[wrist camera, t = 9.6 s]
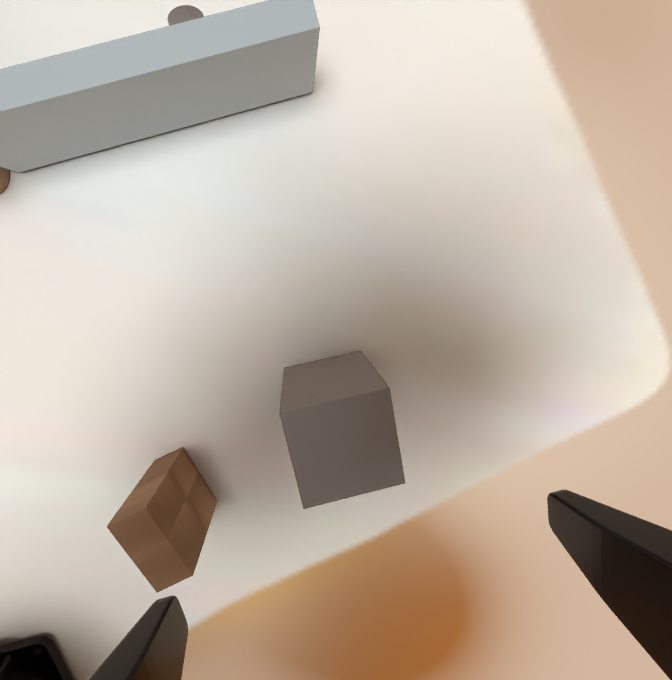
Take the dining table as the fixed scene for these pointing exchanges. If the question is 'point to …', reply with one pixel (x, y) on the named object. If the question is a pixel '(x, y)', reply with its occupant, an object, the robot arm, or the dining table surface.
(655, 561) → the robot arm
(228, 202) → the dining table surface
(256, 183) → the dining table surface
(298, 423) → the block
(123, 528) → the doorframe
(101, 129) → the door
